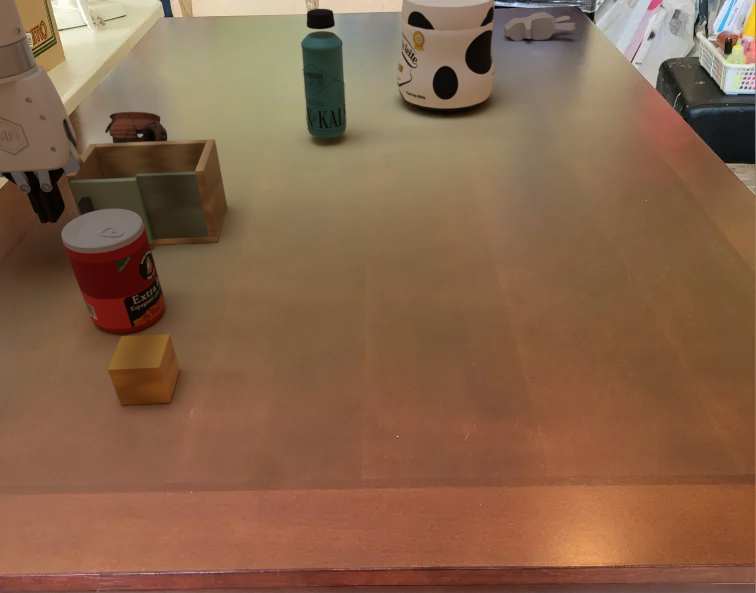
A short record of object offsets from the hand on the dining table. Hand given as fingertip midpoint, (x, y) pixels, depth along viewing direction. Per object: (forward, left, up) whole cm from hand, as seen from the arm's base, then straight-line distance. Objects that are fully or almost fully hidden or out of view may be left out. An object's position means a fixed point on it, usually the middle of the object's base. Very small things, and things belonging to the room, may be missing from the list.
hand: (53, 217), depth 77 cm
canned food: (+10, -12, -6) cm, 17 cm away
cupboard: (+10, +7, -6) cm, 13 cm away
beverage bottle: (+32, +33, -6) cm, 46 cm away
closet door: (+6, +1, -5) cm, 8 cm away
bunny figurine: (+79, +85, -6) cm, 116 cm away
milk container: (+53, +48, -6) cm, 71 cm away
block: (+16, -23, -6) cm, 29 cm away
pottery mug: (+3, +29, -6) cm, 29 cm away
